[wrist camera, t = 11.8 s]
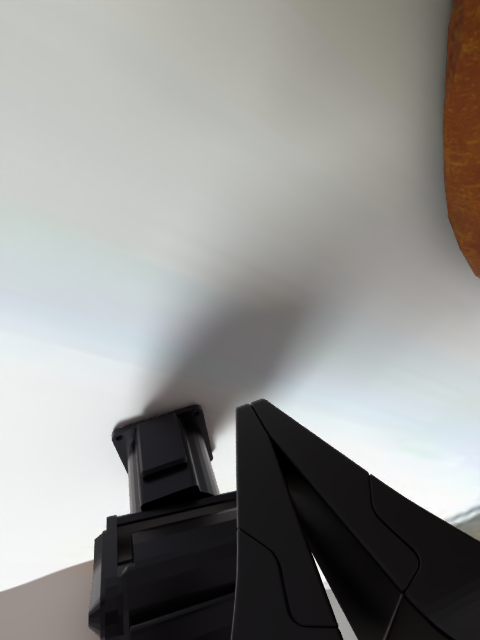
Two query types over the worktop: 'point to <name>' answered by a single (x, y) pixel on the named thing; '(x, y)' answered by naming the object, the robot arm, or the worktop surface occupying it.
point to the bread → (463, 128)
